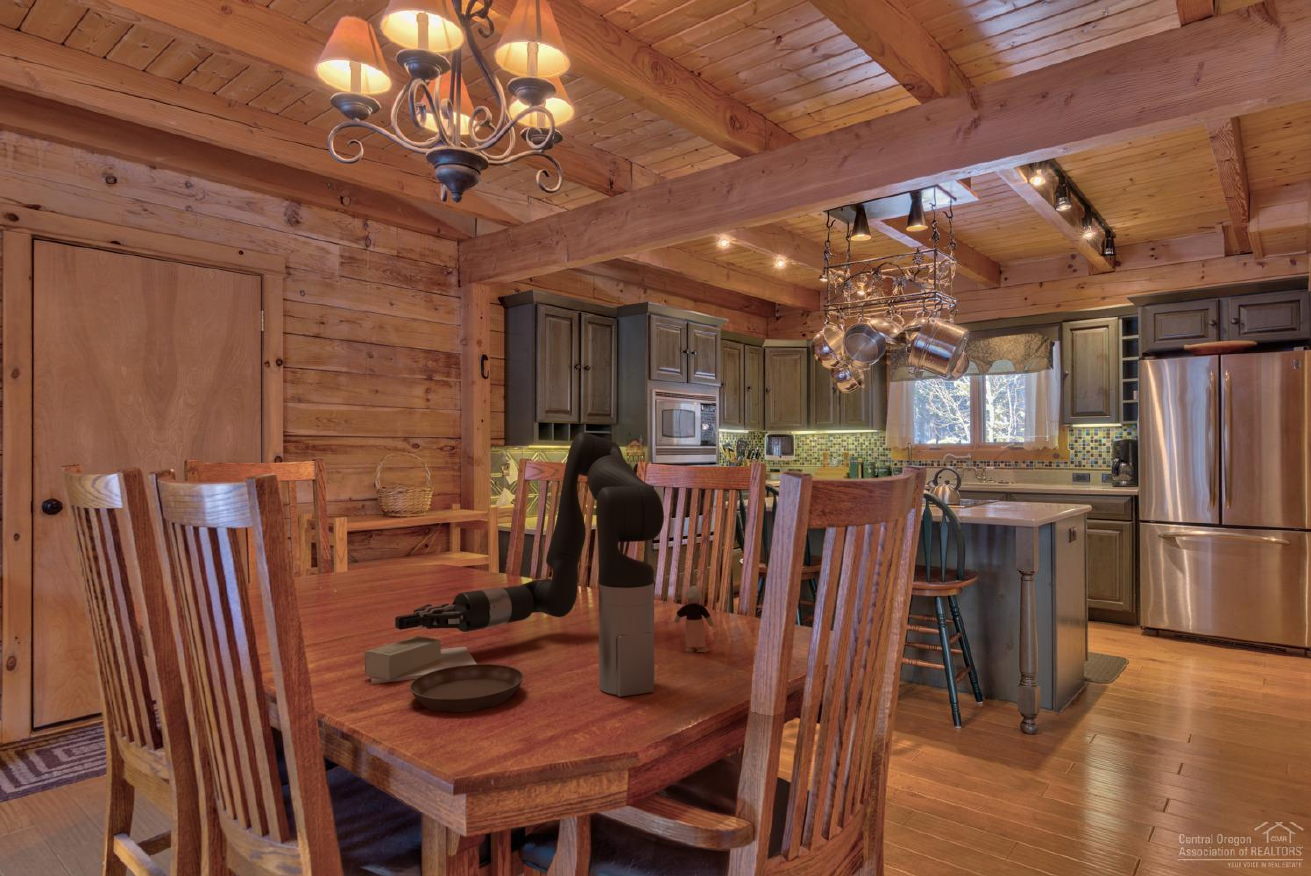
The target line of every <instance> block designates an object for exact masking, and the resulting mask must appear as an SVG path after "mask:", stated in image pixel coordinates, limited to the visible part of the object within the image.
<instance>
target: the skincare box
mask: <svg viewBox="0 0 1311 876" xmlns="http://www.w3.org/2000/svg"><path fill="white" fill-rule="evenodd" d="M441 646H442V642H441V640H440V639H438V638H431V637H426V636H413V637H411V638H406V639H403V640H399V641H395V642H392V643H388V644H385V645H383V646H378V647H375V648H373V649H369V650H365V651H364V676H366V677H369V678H371V677H374V678H379V679H385V680H391V679H394V678H397V677H400V676H403V675H406V674H409V673H412V672H415V671H418V670H421V669H423V668H426V667H429V666H432V665H435V664H438V663H440V662H441V649H442V648H441Z"/></svg>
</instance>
